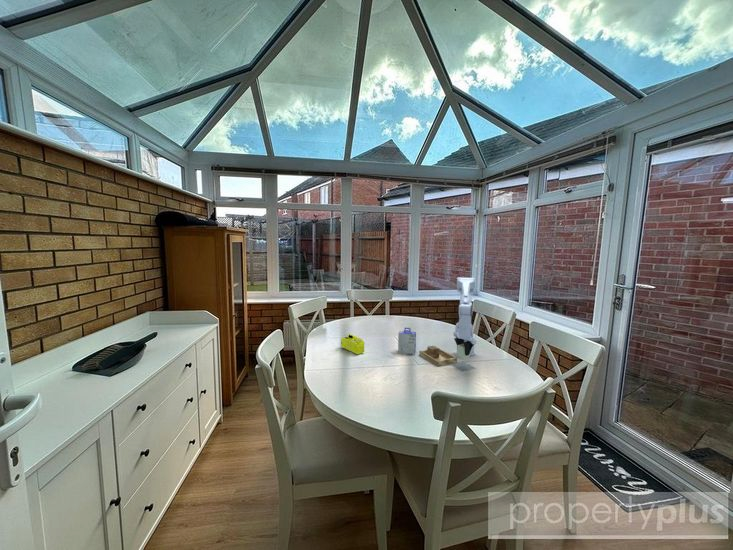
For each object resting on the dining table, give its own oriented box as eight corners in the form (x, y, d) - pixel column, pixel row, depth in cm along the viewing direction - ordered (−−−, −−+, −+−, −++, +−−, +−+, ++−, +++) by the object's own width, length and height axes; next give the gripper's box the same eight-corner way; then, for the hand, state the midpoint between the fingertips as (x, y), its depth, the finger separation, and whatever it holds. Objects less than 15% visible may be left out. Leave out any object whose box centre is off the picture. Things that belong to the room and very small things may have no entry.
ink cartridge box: (415, 351, 175) (416, 327, 174) (415, 355, 170) (415, 330, 169) (399, 350, 178) (399, 326, 176) (397, 353, 173) (398, 329, 171)
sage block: (456, 355, 154) (457, 344, 154) (463, 353, 156) (464, 343, 155) (462, 358, 150) (463, 347, 150) (469, 357, 152) (470, 346, 151)
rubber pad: (464, 362, 160) (464, 361, 160) (476, 369, 152) (476, 368, 151) (450, 365, 156) (450, 364, 156) (462, 372, 148) (462, 371, 148)
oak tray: (437, 352, 174) (437, 347, 174) (456, 363, 159) (457, 358, 158) (419, 356, 169) (419, 350, 169) (437, 367, 154) (437, 361, 153)
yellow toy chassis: (364, 353, 173) (364, 339, 172) (357, 355, 169) (357, 341, 169) (348, 346, 185) (348, 332, 184) (340, 348, 182) (340, 334, 181)
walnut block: (433, 353, 171) (434, 345, 170) (439, 357, 166) (439, 348, 165) (427, 355, 169) (427, 346, 168) (432, 358, 164) (432, 349, 164)
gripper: (449, 324, 157) (448, 349, 158) (468, 332, 143) (467, 359, 145) (459, 323, 159) (458, 347, 161) (480, 330, 146) (478, 357, 148)
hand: (463, 353), depth 153 cm, fingers closed on sage block, 4 cm apart
